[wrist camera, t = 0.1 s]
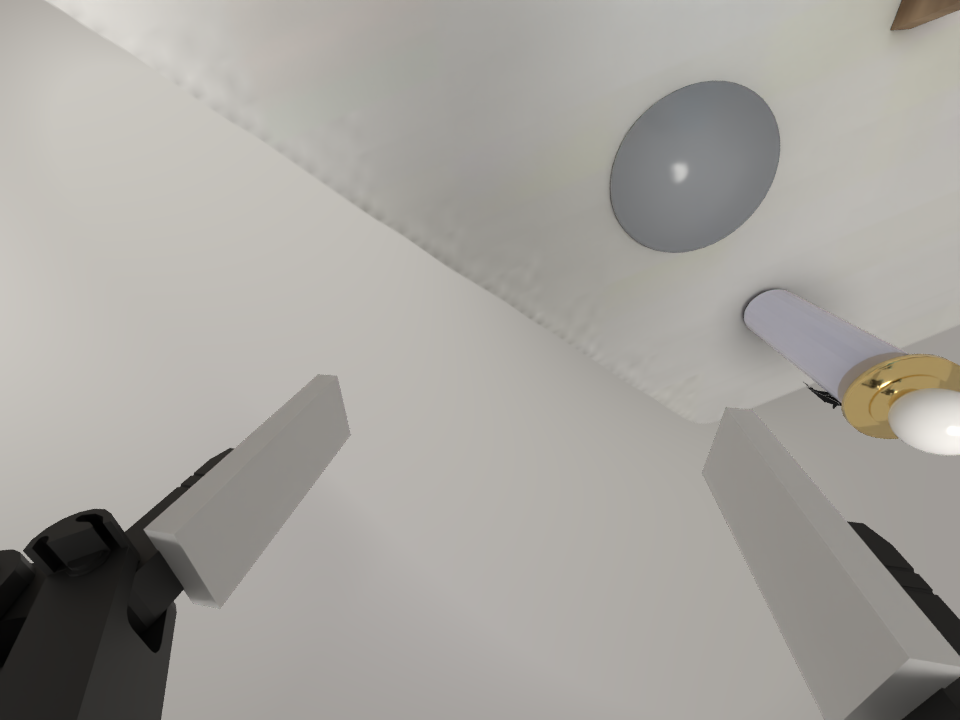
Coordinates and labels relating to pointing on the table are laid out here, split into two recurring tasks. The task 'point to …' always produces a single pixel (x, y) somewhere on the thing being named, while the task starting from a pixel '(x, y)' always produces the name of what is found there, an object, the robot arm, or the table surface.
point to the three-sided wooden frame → (922, 12)
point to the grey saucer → (695, 166)
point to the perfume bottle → (864, 373)
